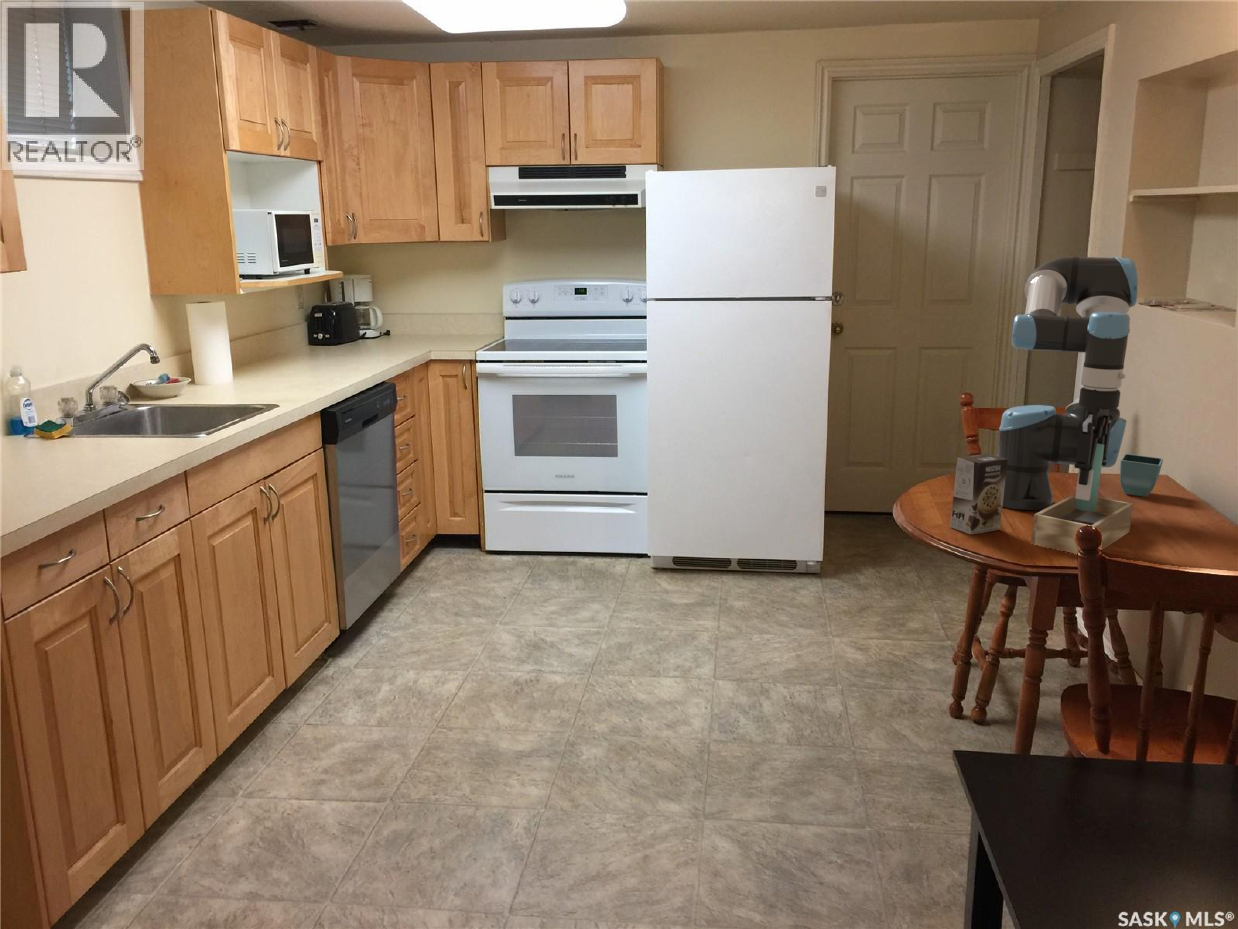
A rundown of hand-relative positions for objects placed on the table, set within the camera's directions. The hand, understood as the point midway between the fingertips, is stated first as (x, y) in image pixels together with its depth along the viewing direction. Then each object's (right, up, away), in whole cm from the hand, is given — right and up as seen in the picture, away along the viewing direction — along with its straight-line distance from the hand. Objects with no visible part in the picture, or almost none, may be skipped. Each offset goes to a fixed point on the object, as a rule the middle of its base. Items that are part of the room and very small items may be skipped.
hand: (1086, 496), depth 209 cm
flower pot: (+30, -1, +37) cm, 48 cm away
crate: (0, -9, +2) cm, 9 cm away
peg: (0, -3, +1) cm, 3 cm away
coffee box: (-21, -7, +8) cm, 23 cm away
